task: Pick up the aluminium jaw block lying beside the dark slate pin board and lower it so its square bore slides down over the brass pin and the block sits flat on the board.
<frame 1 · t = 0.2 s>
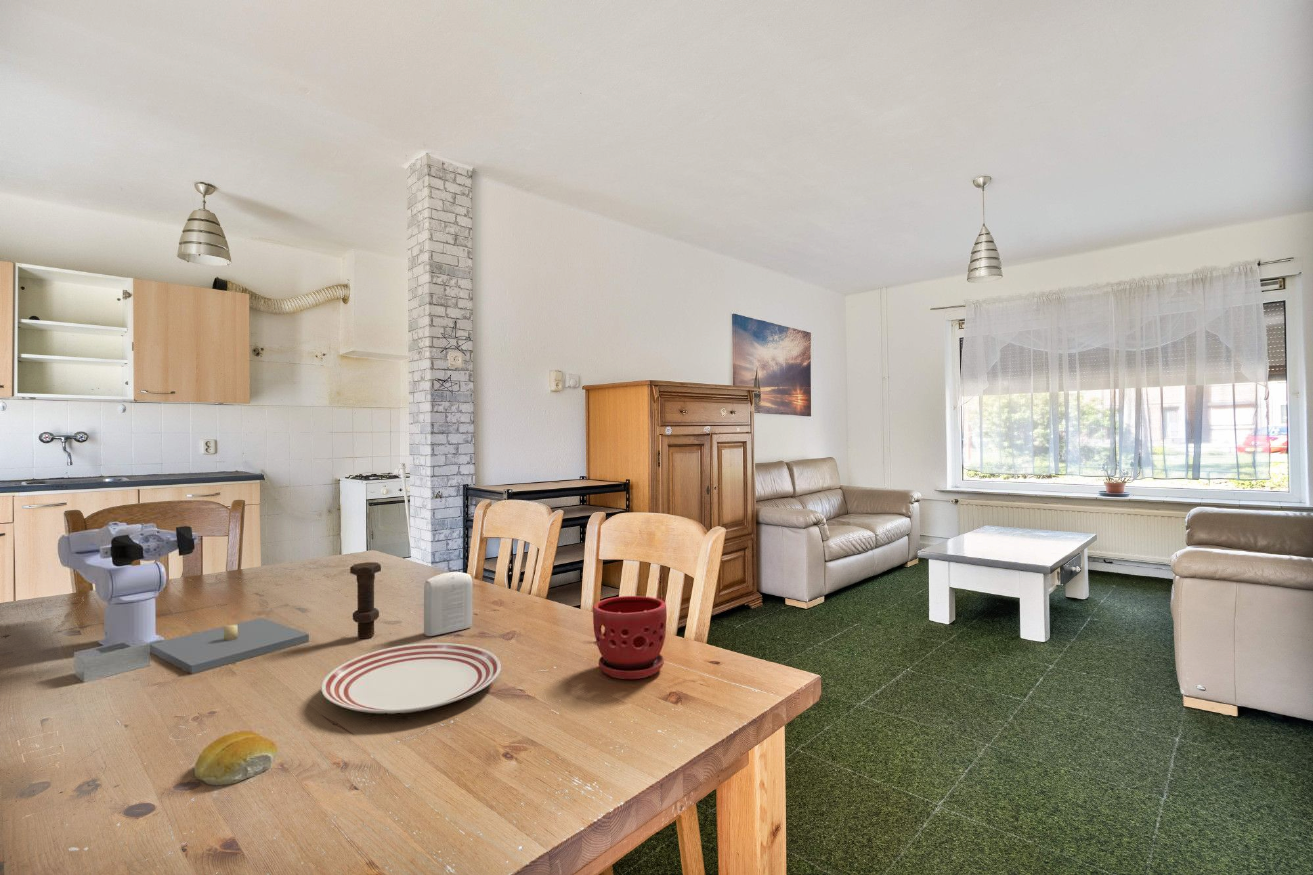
hand: (167, 548, 112), 21 cm above the table, tool horizontal, fingers open, 7 cm apart
pin board: (230, 646, 121), on the table
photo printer: (448, 631, 130), on the table
bolt: (366, 637, 127), on the table
jaw block: (113, 670, 109), on the table
bread roll: (237, 770, 77), on the table
plant pot: (629, 670, 109), on the table
dinner plate: (415, 690, 101), on the table
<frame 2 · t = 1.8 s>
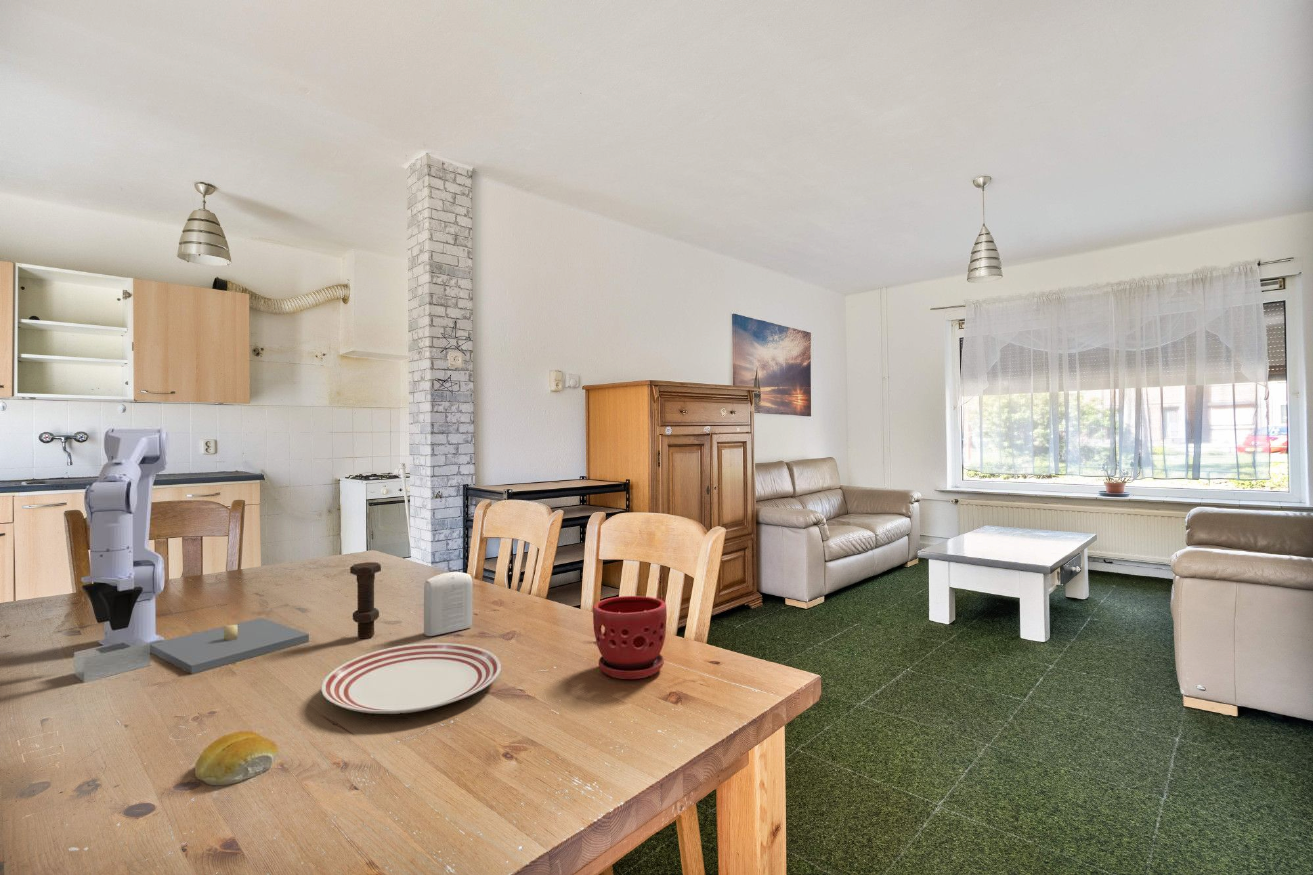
hand: (112, 625, 109), 8 cm above the table, tool pointing down, fingers open, 7 cm apart
nothing on the table moved.
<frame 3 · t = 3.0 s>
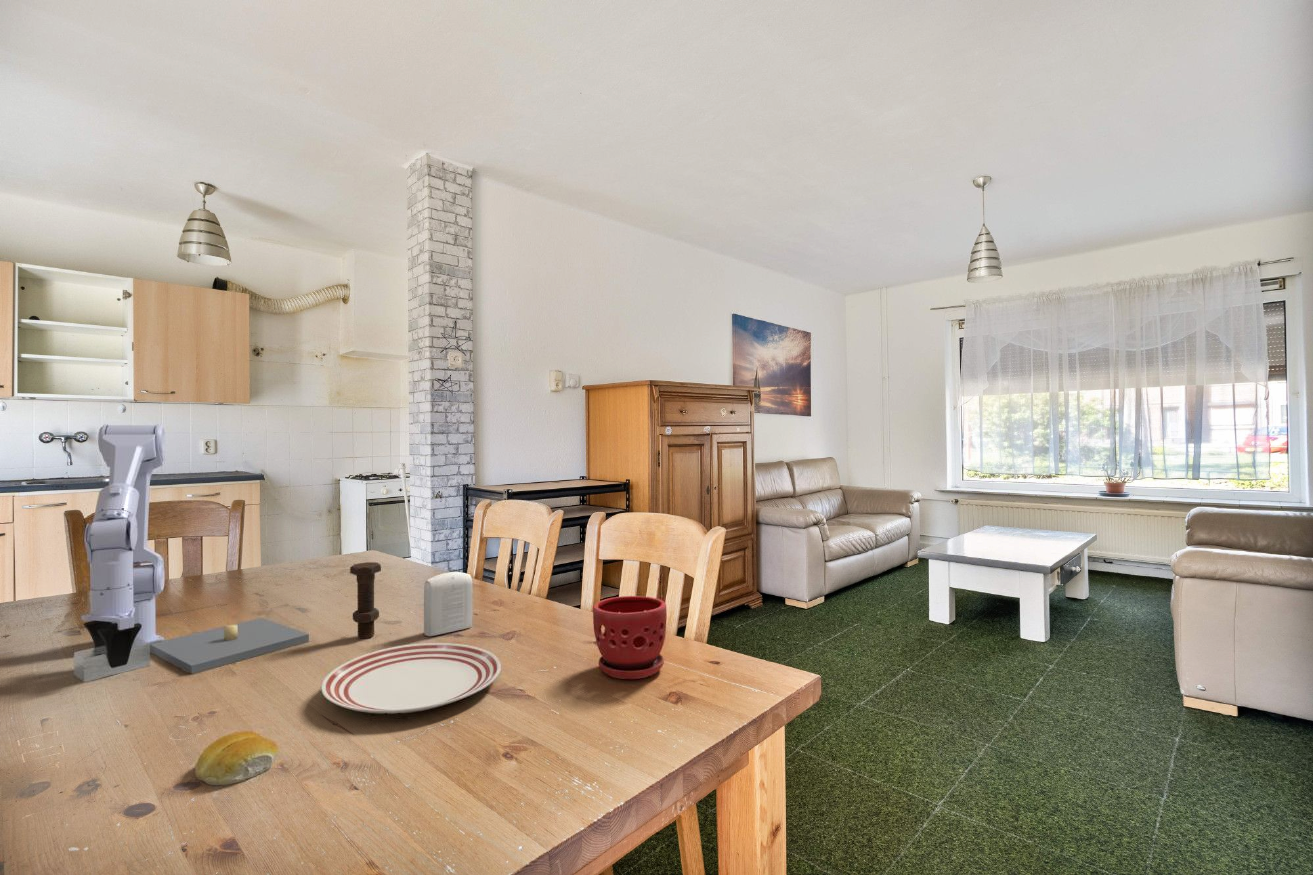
hand: (112, 662, 109), 1 cm above the table, tool pointing down, fingers closed on jaw block, 6 cm apart
jaw block: (112, 670, 109), on the table, touching gripper
everything else where it was.
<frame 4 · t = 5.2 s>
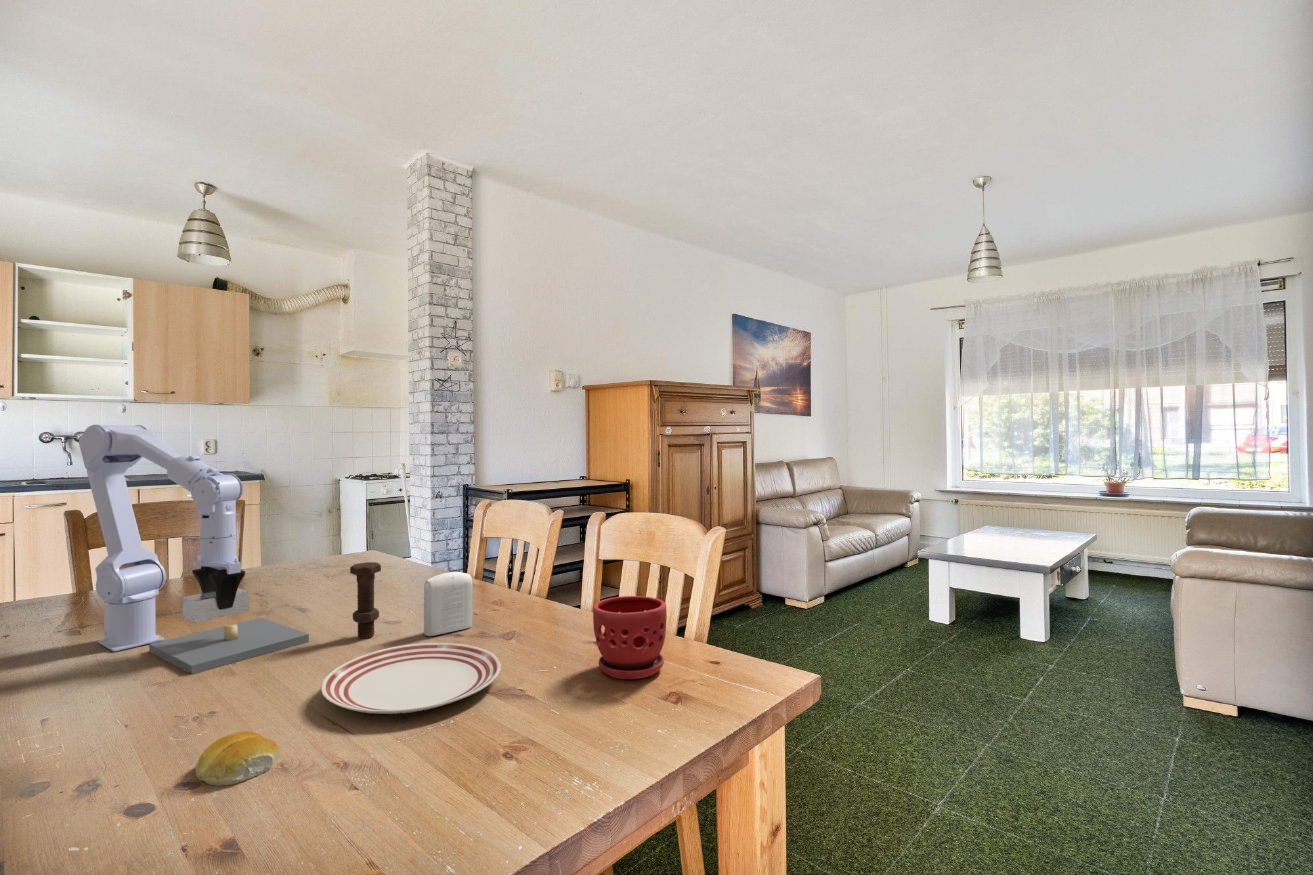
hand: (218, 605, 119), 8 cm above the table, tool pointing down, fingers closed on jaw block, 6 cm apart
jaw block: (216, 614, 119), point 7 cm above the table, touching gripper
everything else where it was.
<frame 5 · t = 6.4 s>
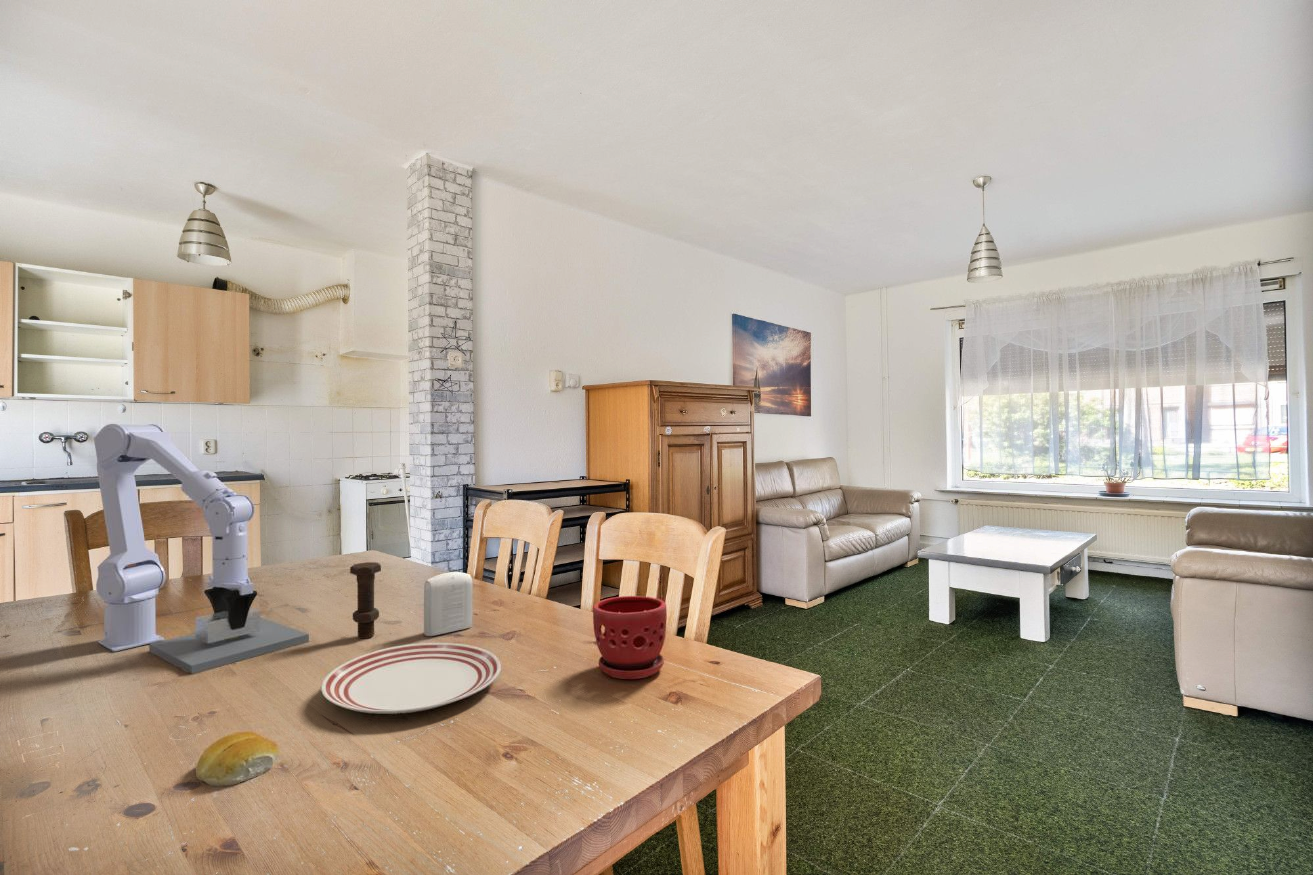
hand: (230, 625, 121), 4 cm above the table, tool pointing down, fingers closed on jaw block, 6 cm apart
jaw block: (228, 634, 121), point 3 cm above the table, touching gripper
everything else where it was.
when the fingers open (4 cm above the table, at t = 7.4 s): jaw block stays where it is, resting on pin board.
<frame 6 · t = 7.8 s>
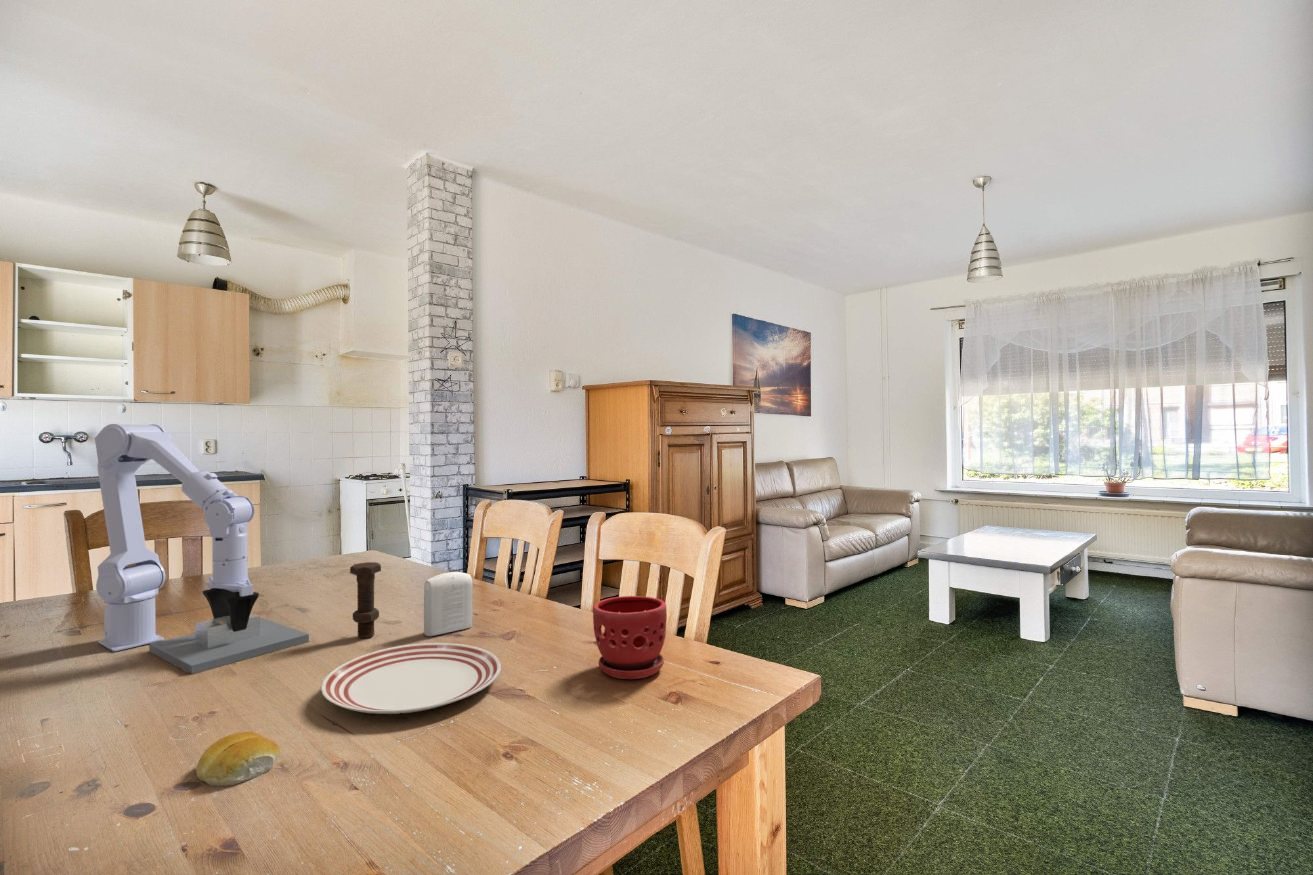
hand: (230, 626, 121), 4 cm above the table, tool pointing down, fingers open, 7 cm apart
jaw block: (228, 639, 121), point 1 cm above the table, touching pin board
everything else where it was.
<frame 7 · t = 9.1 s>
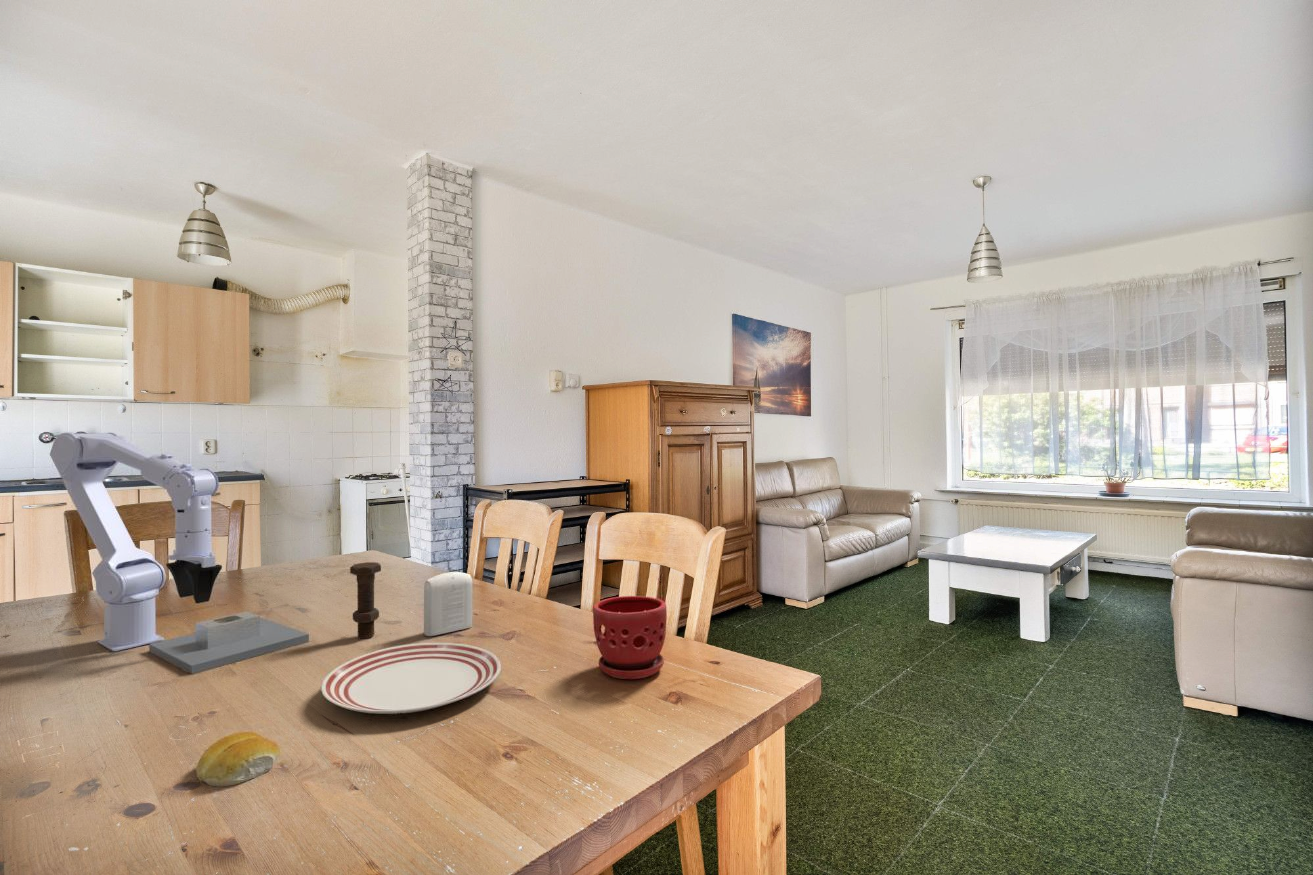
hand: (194, 599, 121), 9 cm above the table, tool pointing down, fingers open, 7 cm apart
nothing on the table moved.
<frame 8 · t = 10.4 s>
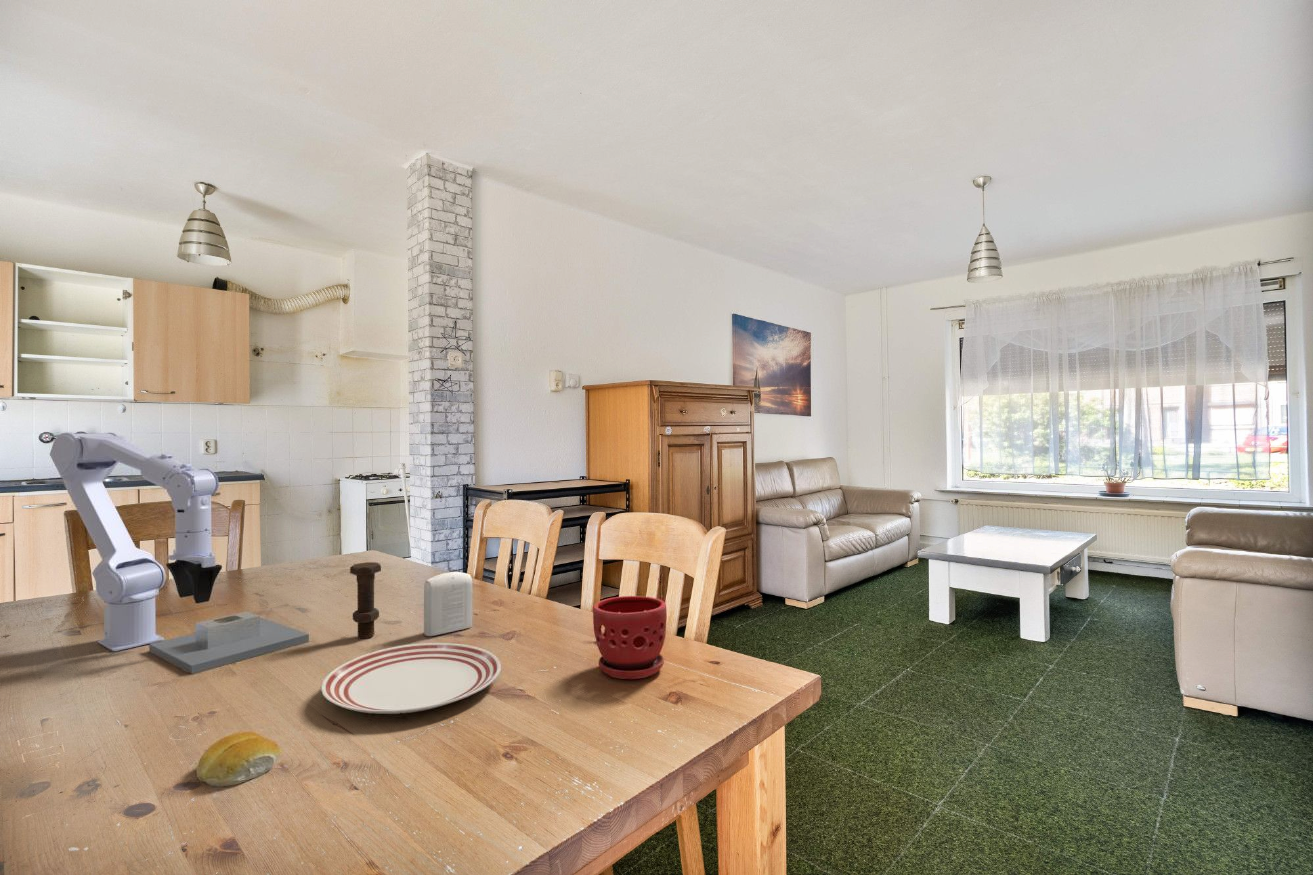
hand: (194, 599, 121), 9 cm above the table, tool pointing down, fingers open, 7 cm apart
nothing on the table moved.
at the end: jaw block 0.4 cm off-centre on the pin board, point 1.5 cm above the pin board's base; jaw block tilted 0°; the gripper is holding nothing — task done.
